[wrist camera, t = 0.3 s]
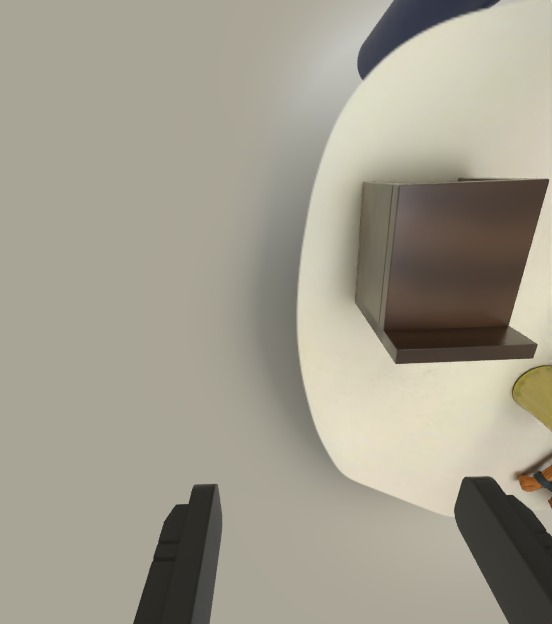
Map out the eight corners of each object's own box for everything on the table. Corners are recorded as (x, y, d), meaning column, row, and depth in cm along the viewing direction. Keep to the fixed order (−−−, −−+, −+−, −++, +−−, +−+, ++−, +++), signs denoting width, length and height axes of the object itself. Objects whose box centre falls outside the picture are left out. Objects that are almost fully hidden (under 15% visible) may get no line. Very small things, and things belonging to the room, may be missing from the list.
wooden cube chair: (362, 181, 29) (418, 186, 18) (471, 177, 29) (592, 179, 18) (355, 302, 34) (395, 364, 23) (448, 299, 34) (533, 358, 23)
